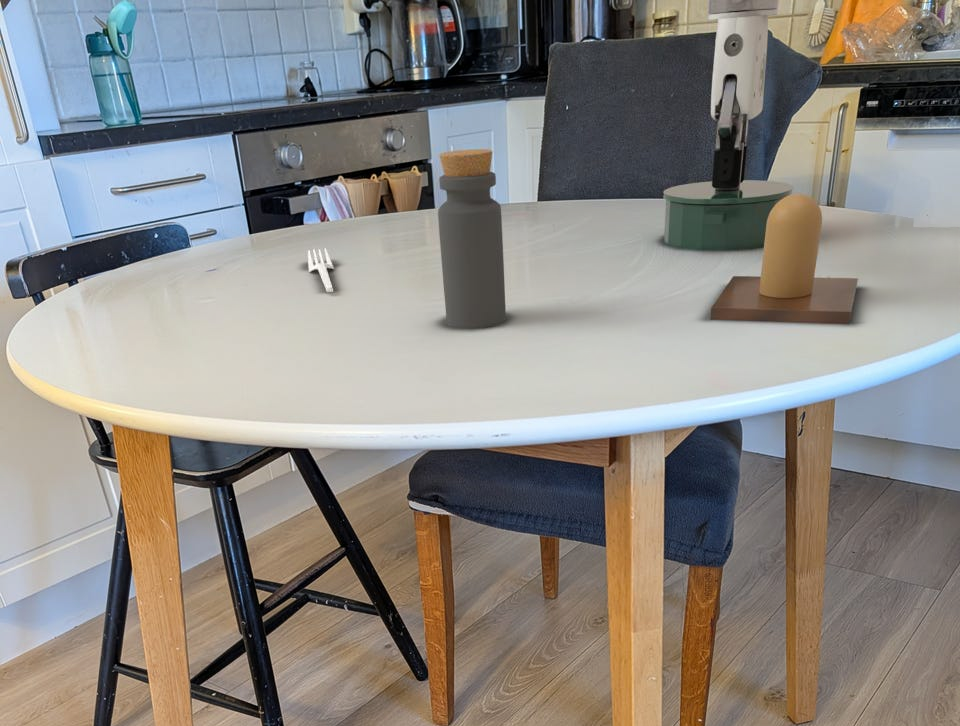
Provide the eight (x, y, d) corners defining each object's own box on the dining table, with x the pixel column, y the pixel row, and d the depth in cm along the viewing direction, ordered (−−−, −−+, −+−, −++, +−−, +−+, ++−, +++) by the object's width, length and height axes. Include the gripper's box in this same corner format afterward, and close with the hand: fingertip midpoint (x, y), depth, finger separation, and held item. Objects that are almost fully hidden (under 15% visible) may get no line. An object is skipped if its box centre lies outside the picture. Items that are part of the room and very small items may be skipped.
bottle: (514, 318, 87) (507, 147, 79) (494, 334, 82) (484, 154, 74) (460, 316, 89) (448, 149, 81) (437, 332, 84) (422, 156, 76)
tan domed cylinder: (814, 287, 84) (827, 189, 79) (809, 299, 80) (823, 197, 75) (762, 285, 85) (773, 190, 81) (755, 297, 82) (766, 198, 77)
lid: (798, 189, 112) (805, 134, 108) (784, 209, 100) (792, 148, 97) (676, 191, 117) (679, 138, 114) (650, 210, 106) (652, 152, 102)
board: (855, 294, 86) (858, 278, 86) (848, 329, 77) (851, 311, 76) (731, 291, 91) (733, 275, 90) (709, 324, 81) (711, 307, 80)
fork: (316, 297, 101) (313, 279, 99) (307, 265, 117) (304, 250, 116) (344, 293, 101) (342, 276, 100) (331, 262, 117) (329, 247, 116)
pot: (790, 228, 117) (796, 182, 114) (772, 260, 101) (778, 208, 98) (681, 228, 122) (684, 184, 119) (648, 258, 106) (650, 209, 103)
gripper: (769, -3, 90) (749, 195, 100) (786, 0, 102) (767, 175, 113) (696, 4, 93) (684, 196, 103) (721, 5, 105) (708, 176, 115)
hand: (727, 183), depth 108 cm, fingers closed on lid, 3 cm apart
